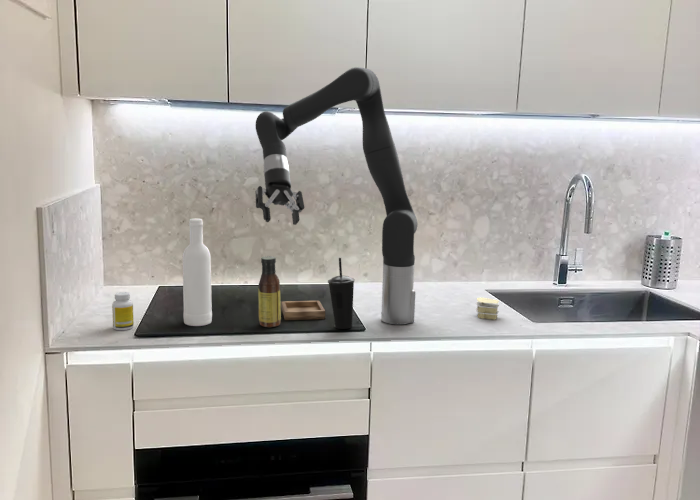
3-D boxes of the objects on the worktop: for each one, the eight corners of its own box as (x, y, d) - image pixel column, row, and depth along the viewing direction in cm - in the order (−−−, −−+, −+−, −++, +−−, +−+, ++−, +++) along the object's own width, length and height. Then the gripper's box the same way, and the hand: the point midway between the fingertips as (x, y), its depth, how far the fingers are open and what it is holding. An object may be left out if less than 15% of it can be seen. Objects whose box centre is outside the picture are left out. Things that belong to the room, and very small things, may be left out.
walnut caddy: (319, 308, 198) (319, 300, 198) (325, 318, 187) (325, 310, 186) (281, 309, 196) (281, 301, 196) (284, 320, 185) (285, 312, 184)
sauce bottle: (270, 320, 184) (270, 254, 181) (285, 324, 180) (285, 257, 177) (253, 325, 179) (253, 257, 176) (268, 329, 175) (268, 260, 172)
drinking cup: (362, 327, 178) (358, 257, 175) (338, 332, 174) (334, 261, 171) (348, 321, 184) (345, 254, 181) (325, 326, 180) (321, 258, 177)
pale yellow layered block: (504, 316, 196) (505, 299, 195) (500, 323, 188) (501, 305, 187) (472, 312, 200) (473, 295, 199) (467, 319, 192) (468, 302, 191)
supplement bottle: (137, 328, 174) (136, 293, 172) (119, 332, 170) (117, 297, 168) (127, 323, 177) (126, 290, 176) (109, 327, 173) (107, 293, 172)
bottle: (196, 328, 175) (194, 221, 170) (177, 322, 180) (175, 219, 174) (217, 321, 182) (216, 219, 176) (199, 316, 186) (197, 216, 181)
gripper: (258, 163, 179) (263, 214, 173) (303, 170, 186) (310, 218, 180) (249, 176, 185) (254, 225, 179) (293, 182, 192) (299, 229, 186)
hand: (282, 222), depth 180 cm, fingers open, 8 cm apart
